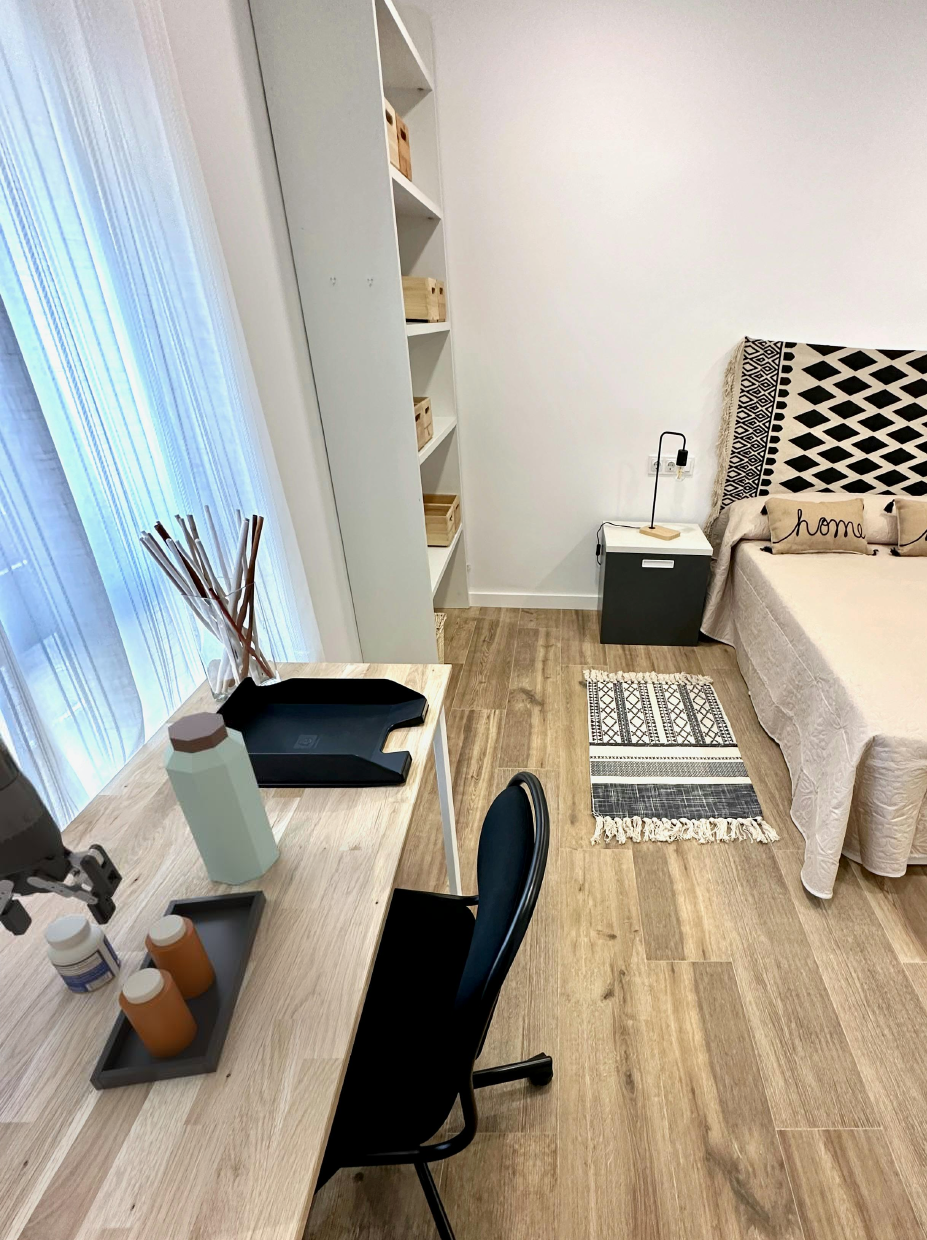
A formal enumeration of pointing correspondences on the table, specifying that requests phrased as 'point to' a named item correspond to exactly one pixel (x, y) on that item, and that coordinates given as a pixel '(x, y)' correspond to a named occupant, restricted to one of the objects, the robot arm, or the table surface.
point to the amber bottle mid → (180, 954)
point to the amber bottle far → (158, 1012)
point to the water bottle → (220, 798)
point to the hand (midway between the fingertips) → (66, 923)
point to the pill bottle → (81, 954)
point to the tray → (228, 946)
